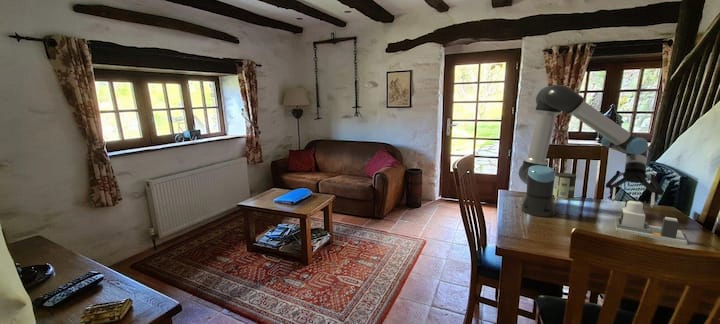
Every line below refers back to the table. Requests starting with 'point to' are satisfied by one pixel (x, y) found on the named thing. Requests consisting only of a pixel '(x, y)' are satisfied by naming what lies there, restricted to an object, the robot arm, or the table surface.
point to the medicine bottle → (633, 214)
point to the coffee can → (564, 186)
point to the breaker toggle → (669, 227)
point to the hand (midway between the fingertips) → (632, 203)
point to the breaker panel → (649, 232)
